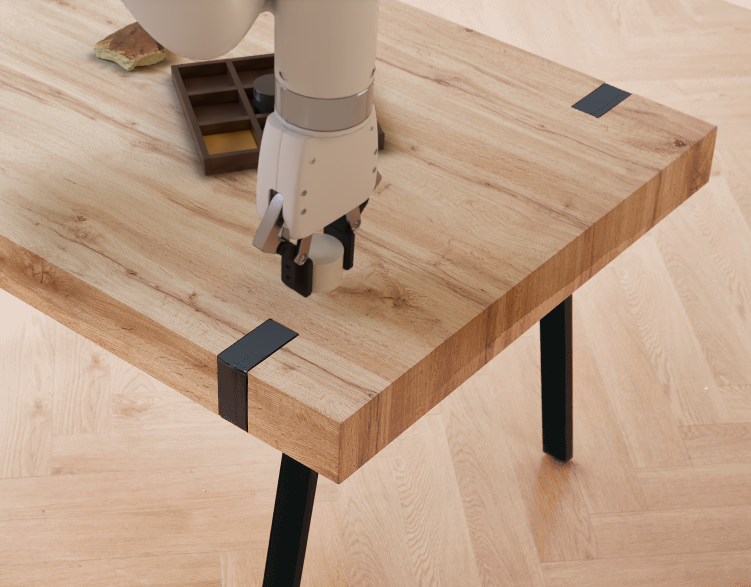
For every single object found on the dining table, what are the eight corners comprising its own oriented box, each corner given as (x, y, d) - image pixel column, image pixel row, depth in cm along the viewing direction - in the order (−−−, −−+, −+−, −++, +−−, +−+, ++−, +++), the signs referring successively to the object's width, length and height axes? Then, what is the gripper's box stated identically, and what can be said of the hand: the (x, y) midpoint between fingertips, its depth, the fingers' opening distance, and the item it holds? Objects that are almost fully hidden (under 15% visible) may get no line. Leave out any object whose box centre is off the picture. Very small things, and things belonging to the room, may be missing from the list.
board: (205, 175, 108) (203, 159, 107) (171, 80, 122) (170, 65, 120) (383, 149, 113) (384, 133, 112) (333, 61, 127) (333, 45, 125)
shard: (157, 21, 132) (156, 8, 131) (204, 41, 129) (203, 27, 127) (92, 55, 125) (90, 41, 124) (140, 77, 122) (138, 63, 121)
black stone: (259, 123, 115) (258, 97, 113) (249, 102, 118) (248, 76, 116) (298, 118, 116) (298, 92, 114) (288, 97, 119) (288, 71, 117)
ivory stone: (299, 297, 92) (300, 269, 90) (286, 264, 95) (286, 236, 93) (348, 289, 93) (350, 260, 91) (334, 257, 96) (335, 229, 94)
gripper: (362, 40, 89) (351, 215, 101) (206, 115, 79) (215, 299, 91) (432, 75, 85) (412, 252, 97) (278, 158, 75) (277, 344, 87)
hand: (317, 273), depth 94 cm, fingers closed on ivory stone, 4 cm apart
